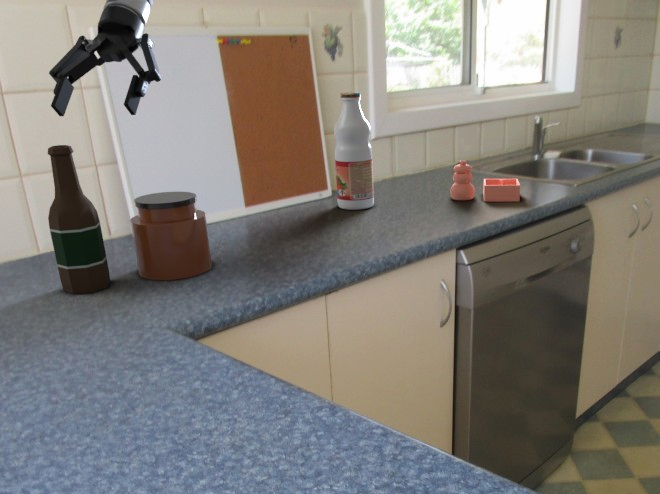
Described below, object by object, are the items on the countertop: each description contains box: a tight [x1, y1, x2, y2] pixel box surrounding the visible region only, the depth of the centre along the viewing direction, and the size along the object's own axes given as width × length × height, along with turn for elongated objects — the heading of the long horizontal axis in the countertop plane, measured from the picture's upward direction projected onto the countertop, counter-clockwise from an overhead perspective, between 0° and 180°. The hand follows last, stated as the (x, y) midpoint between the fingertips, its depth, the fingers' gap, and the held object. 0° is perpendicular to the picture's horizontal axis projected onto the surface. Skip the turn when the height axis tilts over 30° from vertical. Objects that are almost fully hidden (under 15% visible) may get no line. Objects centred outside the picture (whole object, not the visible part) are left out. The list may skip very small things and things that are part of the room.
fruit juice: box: [333, 91, 375, 211], centre depth 166 cm, size 9×9×28 cm
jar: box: [129, 191, 213, 281], centre depth 121 cm, size 13×13×14 cm
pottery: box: [449, 159, 521, 202], centre depth 175 cm, size 18×10×10 cm, turn 84°
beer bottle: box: [47, 144, 111, 295], centre depth 111 cm, size 8×8×24 cm
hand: (93, 110), depth 115 cm, fingers open, 13 cm apart
